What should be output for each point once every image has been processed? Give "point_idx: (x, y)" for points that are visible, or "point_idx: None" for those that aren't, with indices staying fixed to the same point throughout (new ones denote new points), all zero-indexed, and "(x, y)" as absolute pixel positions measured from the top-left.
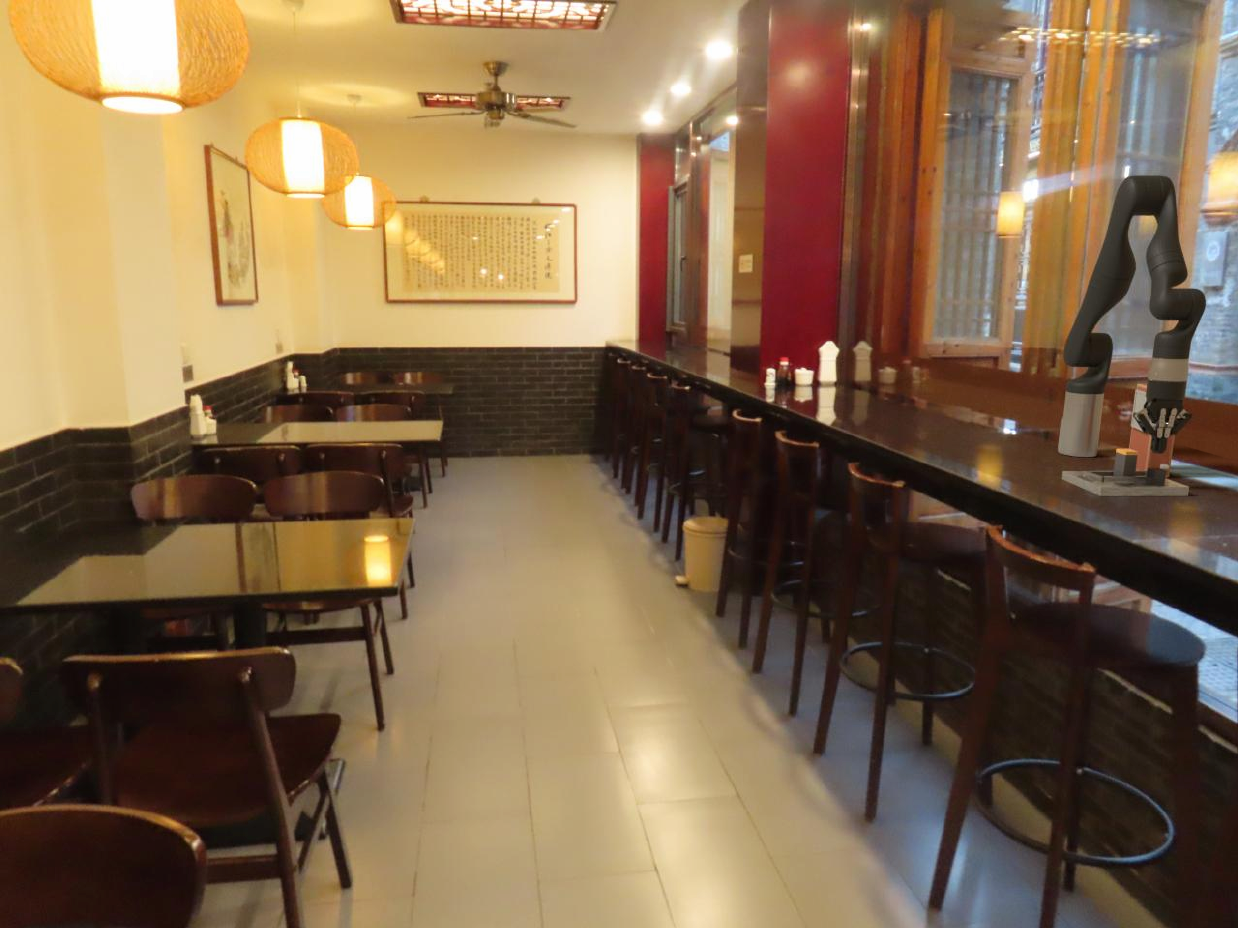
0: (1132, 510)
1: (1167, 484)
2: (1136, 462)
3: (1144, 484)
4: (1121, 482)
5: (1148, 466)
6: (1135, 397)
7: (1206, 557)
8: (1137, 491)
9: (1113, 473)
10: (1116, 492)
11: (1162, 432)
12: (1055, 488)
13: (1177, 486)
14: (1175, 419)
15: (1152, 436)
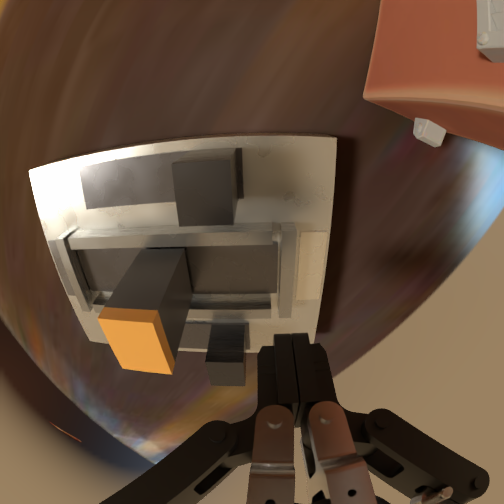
0: (134, 391)
1: (271, 332)
2: (179, 338)
3: (195, 340)
4: None
5: (384, 100)
6: None
7: (160, 456)
8: None
9: (139, 252)
10: None
11: (310, 442)
12: (29, 264)
13: None
14: (432, 477)
15: (253, 418)
